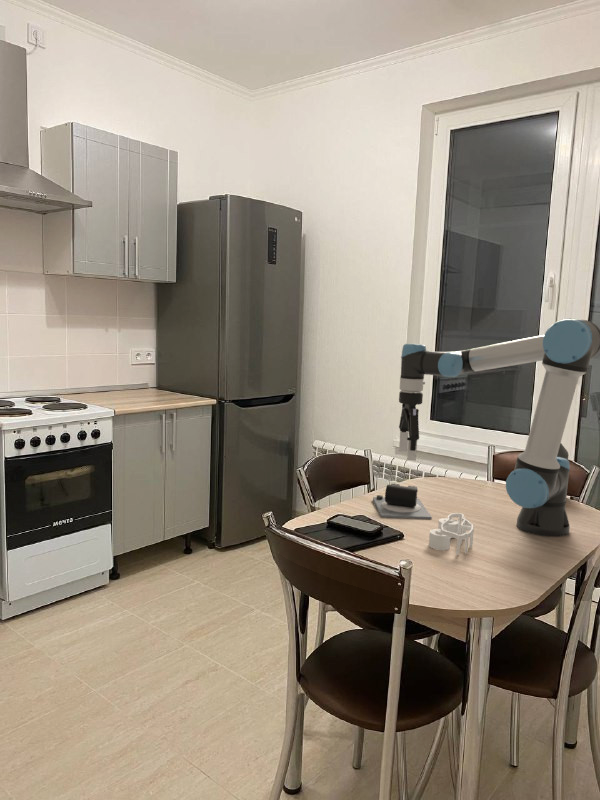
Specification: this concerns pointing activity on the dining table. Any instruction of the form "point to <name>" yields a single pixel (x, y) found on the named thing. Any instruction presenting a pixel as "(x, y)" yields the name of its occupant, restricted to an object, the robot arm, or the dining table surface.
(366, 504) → the dining table surface
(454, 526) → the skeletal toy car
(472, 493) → the dining table surface
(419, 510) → the plate
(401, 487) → the end cap
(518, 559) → the dining table surface
